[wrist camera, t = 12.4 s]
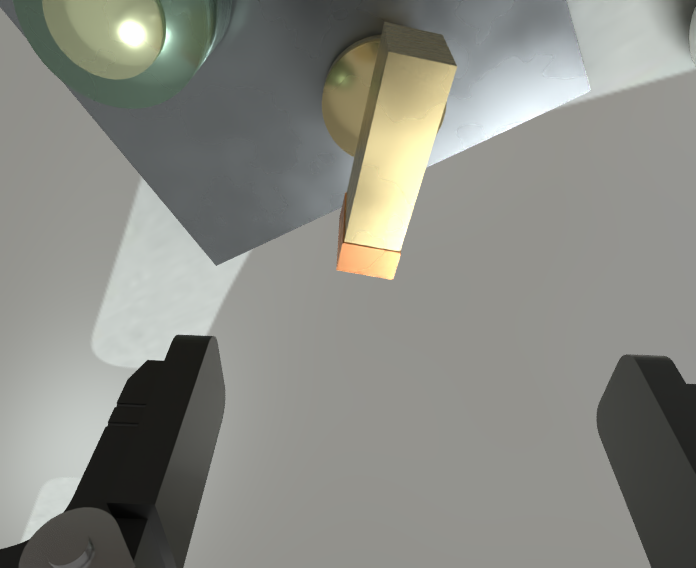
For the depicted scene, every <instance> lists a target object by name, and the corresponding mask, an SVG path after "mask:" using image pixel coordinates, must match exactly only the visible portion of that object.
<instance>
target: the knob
mask: <svg viewBox="0 0 696 568" xmlns="http://www.w3.org/2000/svg"><path fill="white" fill-rule="evenodd" d="M456 69H457V65H456V63H455V60H454V58H453V56H452V54H451V52H450V50H449V47H448V45H447V43H446V41H445V39H444V37H443V35H442V34H438V33H433V32H429V31H424V30H420V29H415V28H411V27H406V26H402V25H397V24H393V23H388V22H384V26H383V30H382V34H380V35H373V36H369V37H366V38H363V39H361V40H359V41H357V42H355V43H353V44H352V45H350V46H349V47H347V48H346V49H345V50H344V51H343V52H342V53H341V54H340V55H339V56H338V57H337V58H336V60H335V61H334V62H333V64H332V66H331V68H330V69H329V71H328V74H327V77H326V80H325V84H324V89H323V96H322V113H323V119H324V122H325V125H326V128H327V130H328V132H329V134H330V136H331V137H332V139H333V140H334V141H335V143H336V144H337V145H338V146H339V147H340V148H341V149H342V150H343V151H345V152H346V153H347V154H349V155H350V156H352V157H354V161H353V166H352V170H351V175H350V179H349V184H348V188H347V193H346V192H345V196H344V200H343V205H342V210H341V214H340V220H339V236H338V253H337V269H336V270H339V271H345V272H350V273H356V274H362V275H368V276H374V277H380V278H385V279H391V280H393V277H394V274H395V271H396V268H397V264H398V261H399V258H400V255H401V246H402V243H403V240H404V236H405V233H406V230H407V226H408V224H409V220H410V217H411V214H412V211H413V207H414V204H415V201H416V198H417V194H418V191H419V188H420V185H421V182H422V178H423V175H424V172H425V169H426V166H427V162H428V159H429V156H430V153H431V150H432V146H433V143H434V140H435V137H436V135H437V133H438V131H439V129H440V127H441V125H442V123H443V120H444V117H445V113H446V105H447V98H448V95H449V92H450V88H451V85H452V82H453V79H454V76H455V72H456Z"/></svg>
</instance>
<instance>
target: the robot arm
mask: <svg viewBox="0 0 696 568" xmlns="http://www.w3.org/2000/svg"><path fill="white" fill-rule="evenodd" d="M224 406H225V385H224V379H223V373H222V367H221V361H220V355H219V349H218V343H217V339H216V337H214V336H195V335H176V336H175V337H174V339H173V341H172V343H171V345H170V348H169V350H168V353H167V355H166V358H165V360H164V361H156V360H147V361H146V362H145V363H144V364H143V365H142V366H141V367H140V368H139V369H138V370H137V371H136V372H135V373H134V374H133V375H132V376H131V377H130V378H129V379H128V380H127V382H126V384H125V386H124V388H123V391H122V393H121V395H120V397H119V399H118V401H117V407H115V408H114V410H113V412H112V414H111V416H110V419H109V421H108V426H107V427H105V429H104V431H103V434H102V436H101V438H100V440H99V442H98V444H97V447H96V449H95V451H94V453H93V455H92V457H91V460H90V462H89V464H88V466H87V468H86V470H85V472H84V475H83V477H82V479H81V481H80V483H79V485H78V487H77V490H76V492H75V494H74V496H73V498H72V500H71V502H70V504H69V505H68V507H67V508H66V510H65V511H64V512H63V513H62V514H59V515H58V516H56V517H54V518H52V519H51V520H49V521H48V522H47V523H45V524H44V525H43V526H42V527H41V528H40V529H39V530H38V531H36V533H35V534H34V535H33V536H32V537H31V539H29V540H27V541H25V542H23V543H20V544H17V545H14V546H11V547H8V548H4V549H0V568H183V567H184V563H185V559H186V555H187V552H188V548H189V544H190V540H191V536H192V533H193V529H194V525H195V521H196V518H197V514H198V510H199V506H200V502H201V499H202V495H203V491H204V487H205V483H206V480H207V476H208V472H209V468H210V464H211V461H212V457H213V453H214V449H215V445H216V442H217V437H218V434H219V430H220V427H221V423H222V419H223V413H224V408H225V407H224ZM597 428H598V432H599V435H600V438H601V441H602V443H603V446H604V448H605V451H606V453H607V456H608V459H609V461H610V464H611V466H612V469H613V471H614V474H615V476H616V479H617V481H618V484H619V486H620V489H621V491H622V494H623V496H624V499H625V501H626V504H627V507H628V509H629V511H630V514H631V517H632V519H633V522H634V524H635V527H636V530H637V532H638V535H639V537H640V540H641V542H642V544H643V547H644V550H645V552H646V555H647V557H648V560H649V562H650V565H651V568H696V384H686V383H685V381H684V380H683V378H682V376H681V374H680V373H679V371H678V369H677V368H676V366H675V364H674V363H673V361H672V360H671V359H670V358H668V357H666V356H651V355H624V356H622V357H621V358H620V360H619V362H618V364H617V366H616V368H615V370H614V372H613V374H612V377H611V379H610V381H609V383H608V385H607V388H606V390H605V392H604V394H603V396H602V398H601V400H600V403H599V405H598V409H597Z"/></svg>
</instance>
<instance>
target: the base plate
mask: <svg viewBox="0 0 696 568" xmlns="http://www.w3.org/2000/svg"><path fill="white" fill-rule="evenodd" d="M0 7H1V8H2V10H3V11H4V12H5V13H6V14H7V16H8V17H9V18H10V19H11V20H12V22H13V23H14V24H15V25H16V26H17V27H18V29H19V30H20V31H21V32H22V34H23V35H24V36H25V37H26V38H27V40H28V41H29V43H30V44H31V46H32V48H33V49H34V51H35V52H36V54H37V55H38V56H39V58H40V59H41V60H42V62H43V63H44V64H45V65H46V66H47V67H48V68H49V69H50V70H51V71H52V72H53V73H54V74H55V75H56V76H57V77H58V78H59V79H60V80H62V82H63V83H64V84H65V85H66V86H67V88H68V89H69V90H70V91H71V92H72V94H73V95H74V96H75V97H76V98H77V100H78V101H79V102H80V103H81V104H82V106H83V107H84V108H85V109H86V110H87V112H88V113H89V114H90V115H91V116H92V118H93V119H94V120H95V121H96V122H97V123H98V125H99V126H100V127H101V128H102V129H103V131H104V132H105V133H106V134H107V135H108V137H109V138H110V139H111V140H112V141H113V143H114V144H115V145H116V146H117V147H118V149H119V150H120V151H121V152H122V153H123V155H124V156H125V157H126V158H127V159H128V161H129V162H130V163H131V164H132V165H133V167H134V168H135V169H136V170H137V171H138V173H139V174H140V175H141V176H142V177H143V179H144V180H145V181H146V182H147V183H148V185H149V186H150V187H151V188H152V189H153V191H154V192H155V193H156V194H157V195H158V197H159V198H160V199H161V200H162V201H163V203H164V204H165V205H166V206H167V207H168V209H169V210H170V211H171V212H172V213H173V215H174V216H175V217H176V218H177V219H178V221H179V222H180V223H181V224H182V225H183V227H184V228H185V229H186V230H187V231H188V233H189V234H190V235H191V236H192V237H193V239H194V240H195V241H196V242H197V243H198V245H199V246H200V247H201V248H202V249H203V251H204V252H205V253H206V254H207V255H208V257H209V258H210V259H211V260H212V261H213V263H214V264H215V265H216V266H217V265H219V264H221V263H223V262H225V261H227V260H230V259H232V258H234V257H236V256H238V255H240V254H242V253H245V252H247V251H249V250H251V249H253V248H255V247H257V246H259V245H262V244H264V243H266V242H268V241H270V240H272V239H275V238H277V237H279V236H281V235H283V234H285V233H287V232H289V231H292V230H294V229H296V228H298V227H300V226H302V225H304V224H307V223H309V222H311V221H313V220H315V219H317V218H320V217H322V216H324V215H326V214H328V213H330V212H332V211H335V210H337V209H339V208H341V207H342V205H343V200H344V196H345V192H346V193H347V188H348V184H349V179H350V175H351V170H352V166H353V161H354V157H352V156H350V155H349V154H347V153H346V152H345V151H343V150H342V149H341V148H340V147H339V146H338V145H337V144H336V143H335V141H334V140H333V139H332V137H331V136H330V134H329V132H328V130H327V128H326V125H325V122H324V119H323V113H322V96H323V89H324V84H325V80H326V77H327V74H328V71H329V69H330V68H331V66H332V64H333V62H334V61H335V60H336V58H337V57H338V56H339V55H340V54H341V53H342V52H343V51H344V50H345V49H346V48H347V47H349V46H350V45H352V44H353V43H355V42H357V41H359V40H361V39H363V38H366V37H369V36H373V35H380V34H382V30H383V26H384V22H388V23H393V24H397V25H402V26H406V27H411V28H415V29H420V30H424V31H429V32H433V33H438V34H442V35H443V37H444V39H445V41H446V43H447V45H448V47H449V50H450V52H451V54H452V56H453V58H454V60H455V63H456V65H457V69H456V72H455V76H454V79H453V82H452V85H451V88H450V92H449V95H448V98H447V105H446V113H445V117H444V120H443V123H442V125H441V127H440V129H439V131H438V133H437V135H436V137H435V140H434V143H433V146H432V150H431V153H430V156H429V159H428V162H427V166H426V168H427V167H429V166H431V165H433V164H435V163H438V162H440V161H442V160H444V159H446V158H448V157H450V156H453V155H455V154H457V153H459V152H461V151H463V150H465V149H468V148H470V147H472V146H474V145H476V144H478V143H481V142H483V141H485V140H487V139H489V138H491V137H493V136H496V135H497V134H500V133H502V132H504V131H506V130H508V129H510V128H513V127H515V126H517V125H519V124H521V123H523V122H526V121H528V120H530V119H532V118H534V117H536V116H538V115H541V114H543V113H545V112H547V111H549V110H551V109H553V108H556V107H558V106H560V105H562V104H564V103H566V102H569V101H571V100H573V99H575V98H577V97H579V96H581V95H584V94H586V93H588V92H590V91H591V89H590V85H589V82H588V78H587V74H586V71H585V67H584V63H583V60H582V56H581V52H580V49H579V45H578V41H577V38H576V34H575V30H574V27H573V23H572V19H571V16H570V12H569V8H568V5H567V1H566V0H0Z"/></svg>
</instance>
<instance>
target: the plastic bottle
mask: <svg viewBox="0 0 696 568" xmlns="http://www.w3.org/2000/svg"><path fill="white" fill-rule="evenodd" d="M689 48H690V53H691V57H692V61H693V62H694V64H695V66H696V6H695V9H694V12H693V15H692V19H691V24H690V30H689Z"/></svg>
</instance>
